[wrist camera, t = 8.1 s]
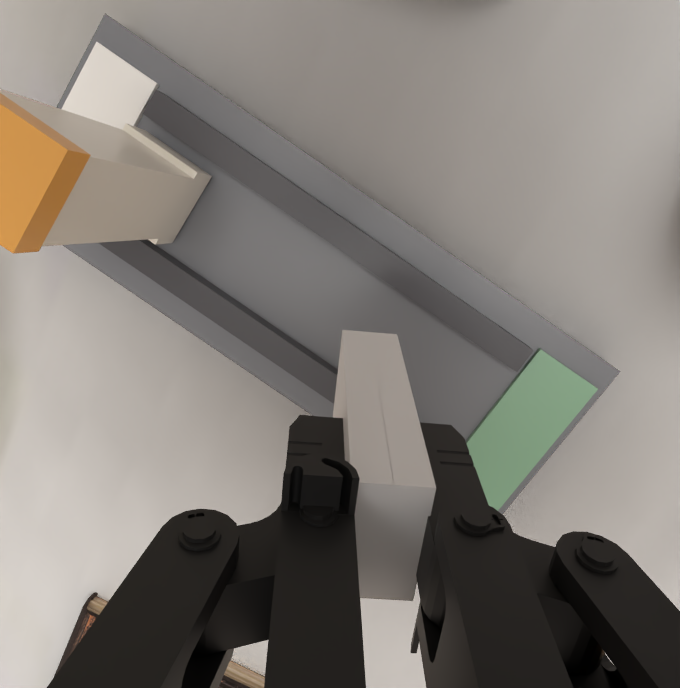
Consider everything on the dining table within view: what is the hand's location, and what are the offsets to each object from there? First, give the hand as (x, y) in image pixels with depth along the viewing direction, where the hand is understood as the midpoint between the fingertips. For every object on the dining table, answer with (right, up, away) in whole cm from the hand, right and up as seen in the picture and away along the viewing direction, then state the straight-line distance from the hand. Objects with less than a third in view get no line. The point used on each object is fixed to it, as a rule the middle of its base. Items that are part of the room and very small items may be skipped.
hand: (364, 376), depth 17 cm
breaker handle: (-9, +8, +11) cm, 16 cm away
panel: (-2, +4, +13) cm, 14 cm away
